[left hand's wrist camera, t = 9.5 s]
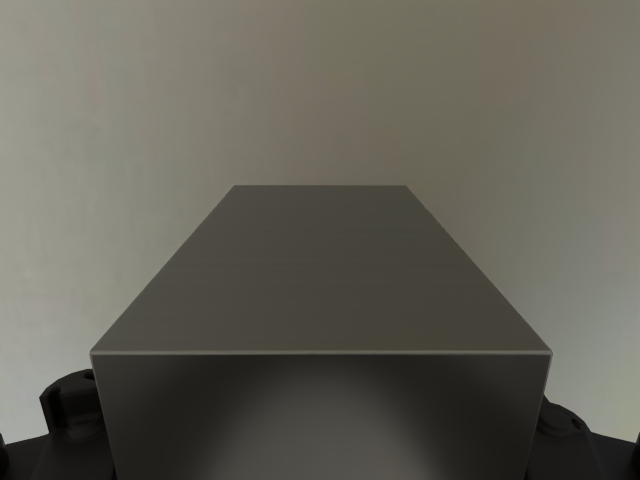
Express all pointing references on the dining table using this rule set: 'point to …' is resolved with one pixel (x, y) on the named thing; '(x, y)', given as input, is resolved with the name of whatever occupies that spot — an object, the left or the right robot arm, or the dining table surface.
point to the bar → (320, 349)
